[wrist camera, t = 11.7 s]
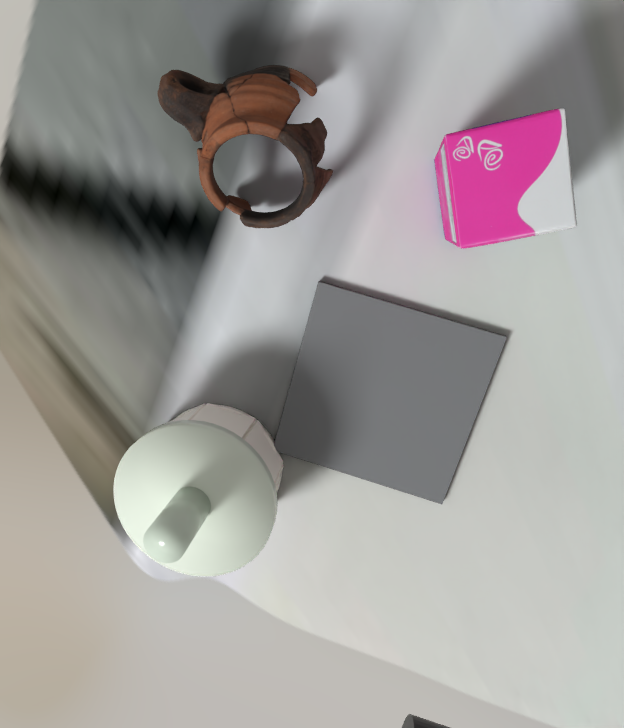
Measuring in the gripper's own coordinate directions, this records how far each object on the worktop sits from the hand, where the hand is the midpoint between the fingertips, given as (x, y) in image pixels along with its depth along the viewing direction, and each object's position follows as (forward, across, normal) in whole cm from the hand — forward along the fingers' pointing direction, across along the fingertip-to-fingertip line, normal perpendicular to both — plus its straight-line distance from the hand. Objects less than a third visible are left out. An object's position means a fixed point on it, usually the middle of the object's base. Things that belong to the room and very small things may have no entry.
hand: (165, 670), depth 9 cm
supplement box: (+34, -6, -10) cm, 36 cm away
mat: (+34, -4, +6) cm, 35 cm away
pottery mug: (+34, +9, -10) cm, 37 cm away
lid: (+28, +7, +15) cm, 33 cm away
